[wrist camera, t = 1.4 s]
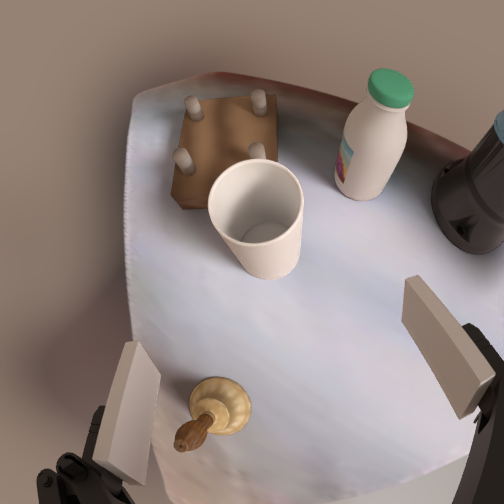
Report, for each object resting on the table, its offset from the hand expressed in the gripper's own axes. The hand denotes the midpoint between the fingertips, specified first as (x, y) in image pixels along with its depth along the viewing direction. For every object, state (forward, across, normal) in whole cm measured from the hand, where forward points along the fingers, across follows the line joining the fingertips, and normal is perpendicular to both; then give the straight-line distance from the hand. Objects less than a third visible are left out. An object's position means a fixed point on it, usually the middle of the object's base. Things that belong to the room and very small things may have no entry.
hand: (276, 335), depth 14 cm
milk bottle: (+31, +16, -4) cm, 35 cm away
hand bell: (+12, -10, -23) cm, 28 cm away
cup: (+26, +1, -10) cm, 28 cm away
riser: (+37, -1, +2) cm, 37 cm away
